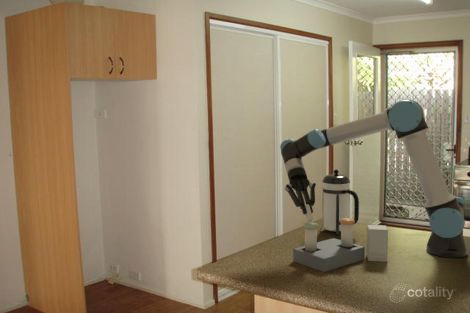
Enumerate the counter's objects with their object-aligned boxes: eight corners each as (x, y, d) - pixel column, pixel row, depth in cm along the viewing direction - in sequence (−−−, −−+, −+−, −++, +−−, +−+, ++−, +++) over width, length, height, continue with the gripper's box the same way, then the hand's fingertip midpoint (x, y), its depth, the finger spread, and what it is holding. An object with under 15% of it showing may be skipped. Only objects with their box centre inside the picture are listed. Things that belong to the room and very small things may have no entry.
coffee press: (320, 235, 221) (320, 171, 217) (319, 227, 236) (320, 167, 233) (358, 236, 218) (359, 172, 215) (355, 228, 233) (356, 167, 230)
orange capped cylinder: (357, 245, 186) (357, 219, 185) (347, 248, 183) (348, 222, 182) (346, 242, 191) (346, 217, 190) (336, 244, 188) (336, 219, 187)
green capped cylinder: (321, 250, 183) (321, 224, 182) (310, 252, 180) (310, 226, 179) (310, 246, 187) (310, 221, 186) (300, 249, 184) (300, 223, 183)
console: (364, 259, 186) (364, 246, 186) (324, 272, 173) (324, 258, 172) (333, 249, 199) (333, 238, 199) (293, 261, 185) (293, 248, 185)
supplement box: (387, 262, 183) (388, 229, 181) (367, 261, 184) (368, 229, 183) (385, 256, 190) (386, 225, 189) (366, 255, 191) (366, 224, 190)
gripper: (308, 176, 201) (323, 224, 187) (279, 178, 199) (292, 226, 184) (313, 165, 196) (329, 214, 181) (282, 166, 193) (296, 216, 178)
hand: (310, 220), depth 183 cm, fingers closed
